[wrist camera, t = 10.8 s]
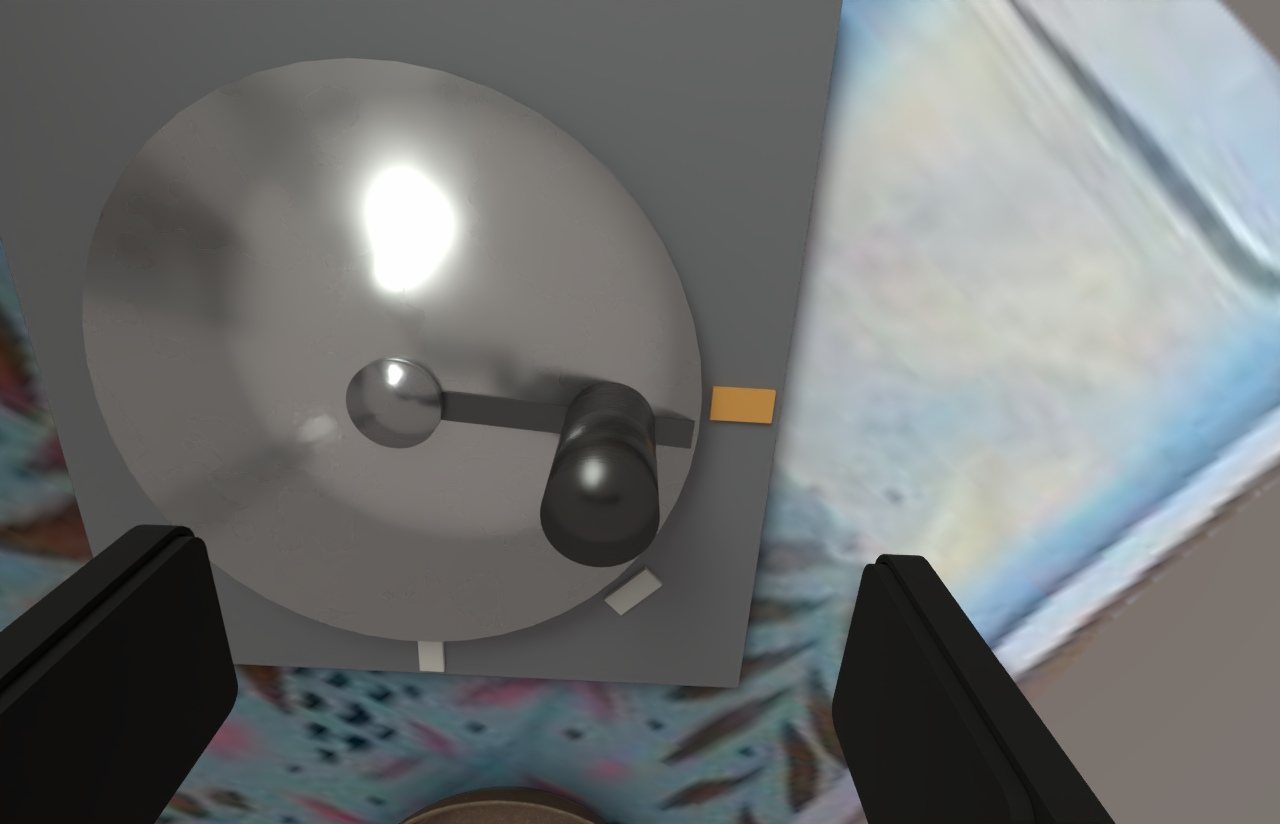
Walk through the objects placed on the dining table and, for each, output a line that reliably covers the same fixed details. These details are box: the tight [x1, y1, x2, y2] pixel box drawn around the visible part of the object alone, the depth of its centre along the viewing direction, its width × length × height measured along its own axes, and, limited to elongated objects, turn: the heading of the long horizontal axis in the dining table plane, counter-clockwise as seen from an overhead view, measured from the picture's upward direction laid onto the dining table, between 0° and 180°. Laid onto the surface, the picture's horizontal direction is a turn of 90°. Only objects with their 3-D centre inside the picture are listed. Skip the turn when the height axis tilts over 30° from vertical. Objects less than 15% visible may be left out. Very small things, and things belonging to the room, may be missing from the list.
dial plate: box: [0, 0, 843, 688], centre depth 24 cm, size 26×26×2 cm
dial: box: [82, 58, 702, 642], centre depth 19 cm, size 20×20×7 cm
